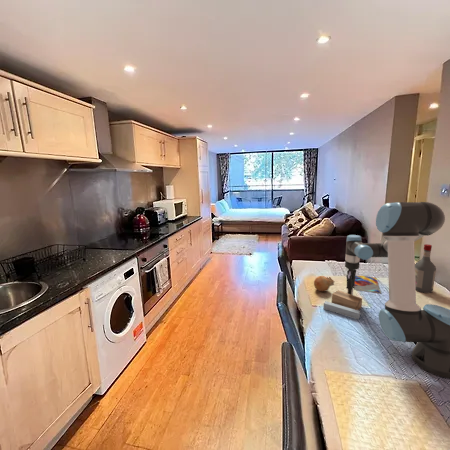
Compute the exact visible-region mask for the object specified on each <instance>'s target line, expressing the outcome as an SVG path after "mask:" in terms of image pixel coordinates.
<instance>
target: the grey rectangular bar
mask: <svg viewBox="0 0 450 450" xmlns="http://www.w3.org/2000/svg"><path fill="white" fill-rule="evenodd" d="M323 309H324V310H327V311H330V312H331V313H335V312H336V314H338V315H343V316H346V317H347V318H348V317H349V318H351V319H355V320H359V319H360V317H361V311H360V310H355V309H351V308H348V307H344V306H341V305H337V304H334V303H332V302H330V301H327V300H325V301H324V302H323Z"/></svg>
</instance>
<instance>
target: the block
mask: <svg viewBox="0 0 450 450" xmlns="http://www.w3.org/2000/svg"><path fill="white" fill-rule="evenodd" d="M331 303H334V304H337V305H341V306H344V307H348V308H351V309H355V310H358V311H360V310H361V309H362V306H363V298H362V297H360V296H356V295H354V294H353V295H351V294H348V293H347V292H345V291H342V290H340V289H338V290H336V291H334V292H333V293H331Z"/></svg>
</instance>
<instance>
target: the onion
mask: <svg viewBox="0 0 450 450" xmlns="http://www.w3.org/2000/svg"><path fill="white" fill-rule="evenodd" d="M313 286H314V288H315V289H316V290H317V291H319V292H323V293H324V292H326V291H328V290H329V289H330V287H329V286H331V285H330V283H329V280H328V279H327V277H326V276H324V275H320V276H317V277H315V279H314V281H313Z"/></svg>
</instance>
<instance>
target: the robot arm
mask: <svg viewBox="0 0 450 450" xmlns="http://www.w3.org/2000/svg"><path fill="white" fill-rule="evenodd" d="M445 221H446V215H445V213H444V210H443V209H442V208H441V207H440V206H439V205H437V204H435V203H433V202H429V201H417V202H416V201H415V202H413V201H411V202H410V201H408V202H407V201H406V202H405V201H404V202H403V201H402V202H401V201H396V202H386V203H384V204H383V205H381V206H380V208H379V209H378V211H377V214H376V218H375V226H376V229H377V230H378V232H381V233H382V237H383V238H384V239H385V241H384V242H373V243H372V242H369V243H367V242H365V243H364V242H362V241H363V240H362V236H361V235H358V234H357V235H356V234H349V235H347V236H346V241H345V242H346V245H345V258H344V259H345V262H344V267H345V268H346V269H348V270H346V271H347V272H346V287H345V288H346V290H347V291H346V293H348V294H351V295H354V288H355V287H354V284H355V276H357V270H358V269H359V270H360V260H363V261H365V260H369V259H371V258H387V266H388V267H387V272H388V300H387V301H385V303H384V308H382V309H380V310H379V312H378V323H379V325H380V328H381V330H382V332H383V333H384V335H385V336H386V337H387V338H388V339H389V340H390V341H393V342H400V343H416V344H415V346H414V347H413V348H412V352H411V357H412V360H413V362H414V363H415V364H416V365H418V366H419V367H420V368H421V369H423V370H424V371H426V372H428V373H430V374H433V375H434V376H437V377H441V378H445V379H450V309H449V308H446V307H443V306H441V305H437V304H430V303H426V304H425V305H424V306H423V307H420V306H419V305H418V304H417V291H416V287H415V264H416V261H415V259H416V258H415V257H416V256H415V242H416V241H418V240H420V239H422V238H423V237H426V236H432V235H434V234H435V233H436V232H438V231H439V230H441V228H442V227H443V226H444V224H445Z"/></svg>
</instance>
